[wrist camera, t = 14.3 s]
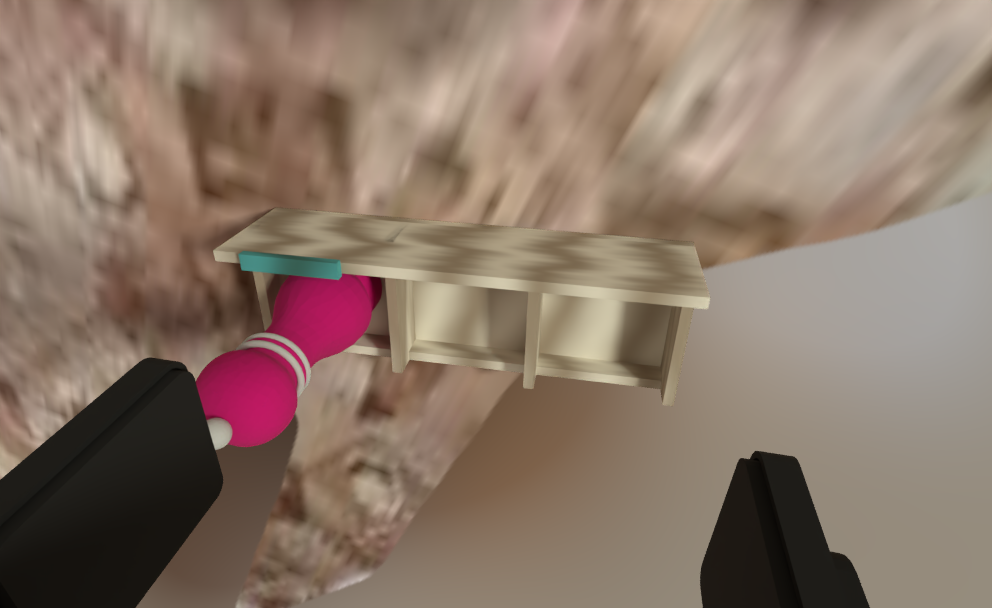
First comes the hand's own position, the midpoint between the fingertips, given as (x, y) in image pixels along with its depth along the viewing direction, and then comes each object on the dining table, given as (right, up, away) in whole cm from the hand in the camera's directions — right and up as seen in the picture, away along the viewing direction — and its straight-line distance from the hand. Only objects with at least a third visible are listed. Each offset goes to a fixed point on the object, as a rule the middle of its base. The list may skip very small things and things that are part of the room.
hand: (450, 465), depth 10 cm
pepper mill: (-12, +5, +40) cm, 42 cm away
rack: (-1, +4, +39) cm, 39 cm away
